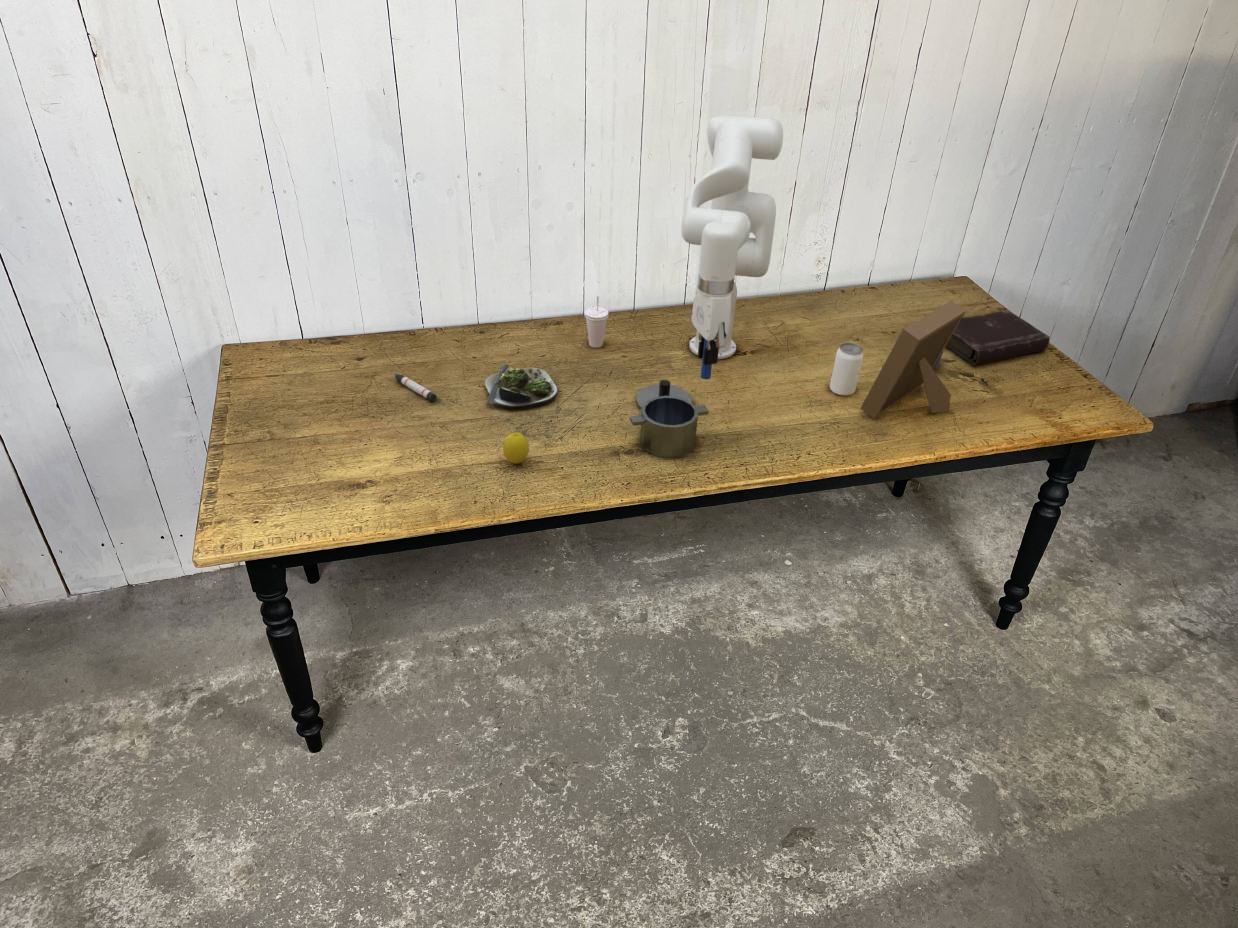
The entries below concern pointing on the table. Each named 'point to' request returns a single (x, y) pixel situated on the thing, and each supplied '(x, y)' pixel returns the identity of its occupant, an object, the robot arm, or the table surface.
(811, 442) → the table surface
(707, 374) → the pen
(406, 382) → the marker
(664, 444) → the pot
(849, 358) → the can
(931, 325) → the photo frame
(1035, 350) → the diary
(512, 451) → the lemon
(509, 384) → the salad plate
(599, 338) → the smoothie
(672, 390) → the pot lid
